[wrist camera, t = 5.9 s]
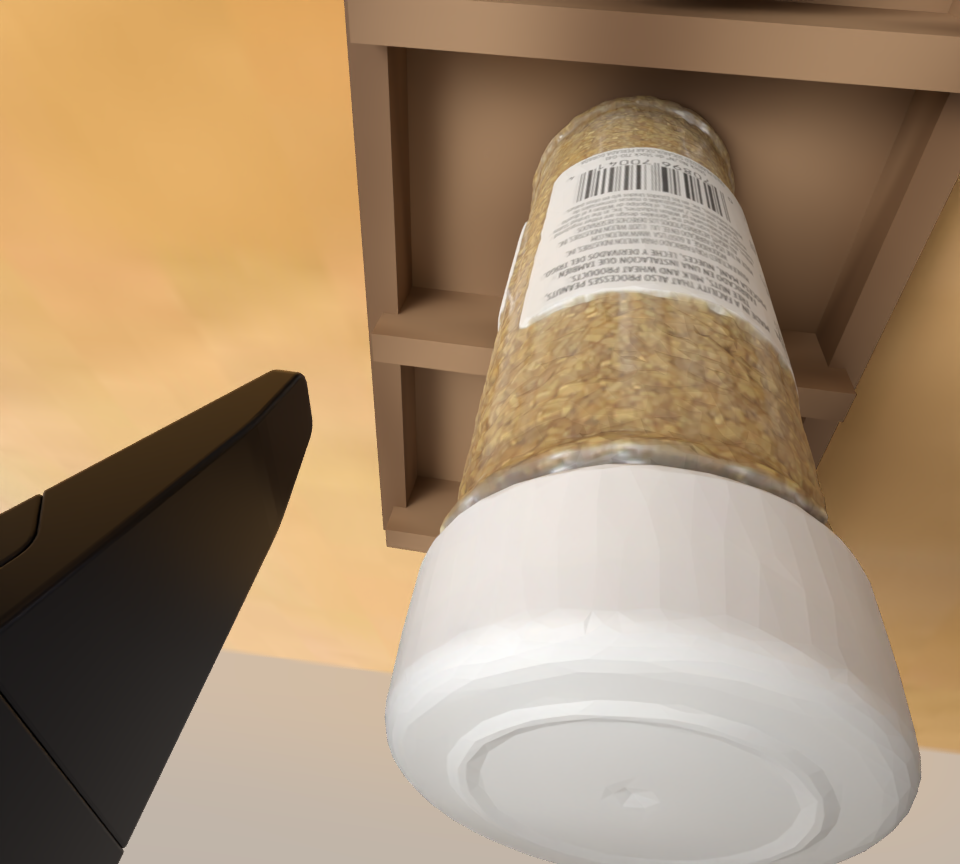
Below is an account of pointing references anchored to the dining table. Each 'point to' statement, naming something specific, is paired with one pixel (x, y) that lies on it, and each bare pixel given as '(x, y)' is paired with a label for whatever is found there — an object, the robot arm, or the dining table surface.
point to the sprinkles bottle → (647, 549)
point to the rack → (606, 76)
